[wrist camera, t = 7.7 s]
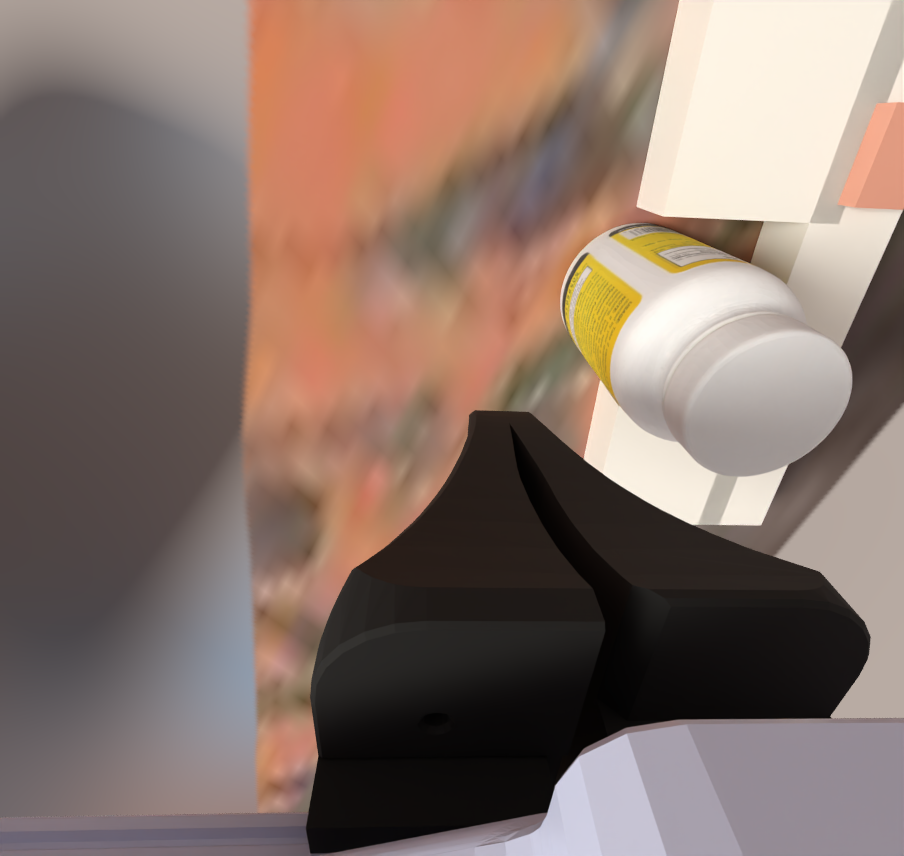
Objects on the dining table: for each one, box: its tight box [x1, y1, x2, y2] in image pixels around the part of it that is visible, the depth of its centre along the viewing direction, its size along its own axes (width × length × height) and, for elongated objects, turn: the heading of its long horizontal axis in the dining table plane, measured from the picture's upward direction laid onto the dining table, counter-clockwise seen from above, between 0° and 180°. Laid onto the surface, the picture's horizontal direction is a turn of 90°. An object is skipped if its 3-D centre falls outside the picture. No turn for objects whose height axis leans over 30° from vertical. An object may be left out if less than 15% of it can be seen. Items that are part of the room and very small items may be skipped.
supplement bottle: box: [560, 223, 852, 477], centre depth 16 cm, size 5×5×10 cm
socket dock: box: [584, 0, 904, 525], centre depth 19 cm, size 19×8×3 cm, turn 177°
